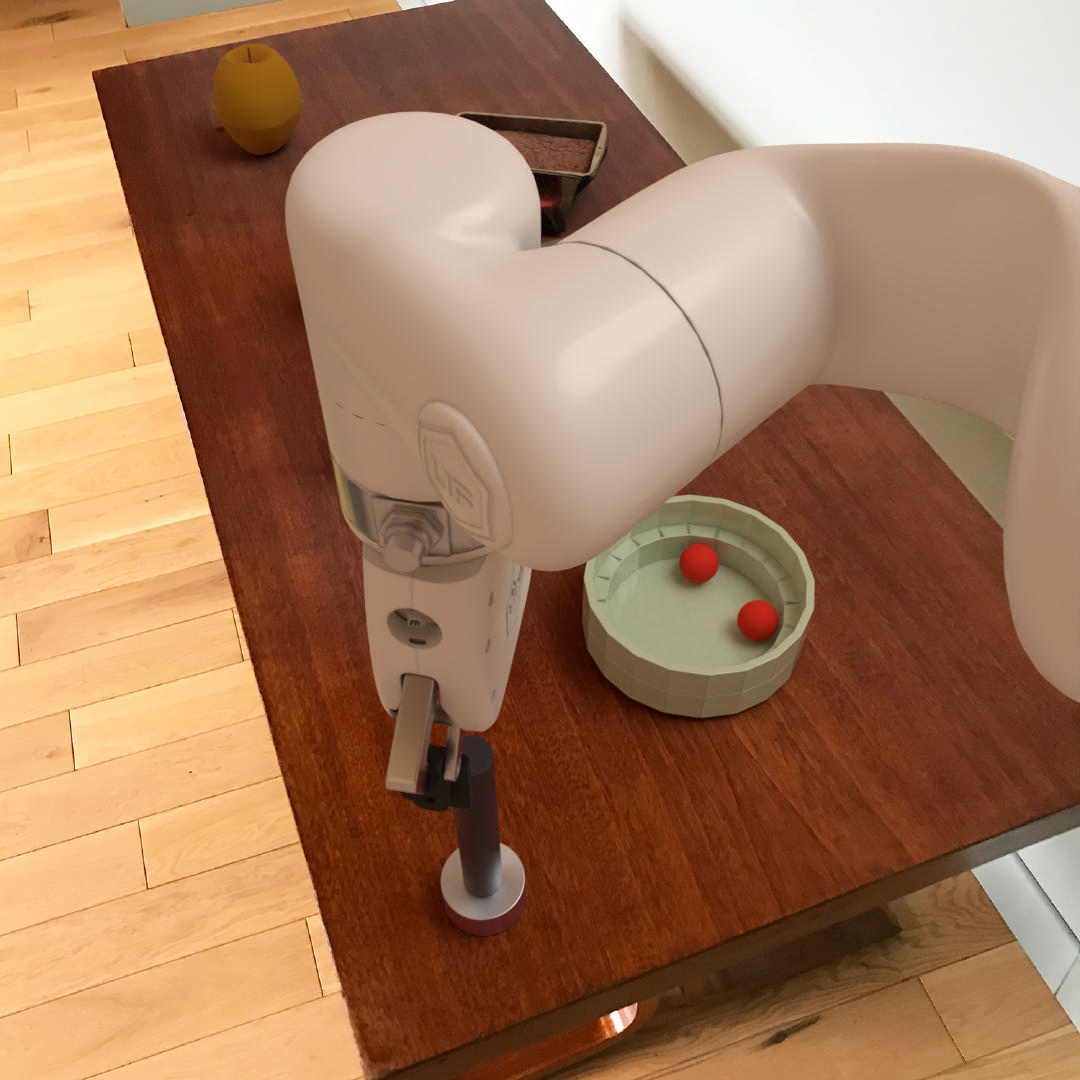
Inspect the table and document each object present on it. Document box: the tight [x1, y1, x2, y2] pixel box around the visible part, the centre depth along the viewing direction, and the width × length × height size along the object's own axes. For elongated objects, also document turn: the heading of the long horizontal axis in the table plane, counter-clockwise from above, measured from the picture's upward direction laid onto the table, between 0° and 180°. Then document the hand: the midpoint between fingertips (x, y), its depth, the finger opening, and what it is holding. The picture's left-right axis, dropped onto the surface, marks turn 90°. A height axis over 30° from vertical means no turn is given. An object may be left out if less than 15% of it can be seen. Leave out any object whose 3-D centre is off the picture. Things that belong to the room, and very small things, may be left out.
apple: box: [212, 43, 303, 156], centre depth 124 cm, size 10×10×12 cm
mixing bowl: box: [581, 494, 816, 719], centre depth 81 cm, size 16×16×6 cm
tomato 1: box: [679, 544, 719, 583], centre depth 85 cm, size 3×3×3 cm
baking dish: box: [454, 111, 610, 234], centre depth 118 cm, size 14×18×10 cm
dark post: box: [440, 734, 527, 937], centre depth 64 cm, size 5×5×18 cm
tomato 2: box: [737, 600, 779, 641], centre depth 82 cm, size 3×3×3 cm
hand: (461, 708), depth 54 cm, fingers open, 9 cm apart
